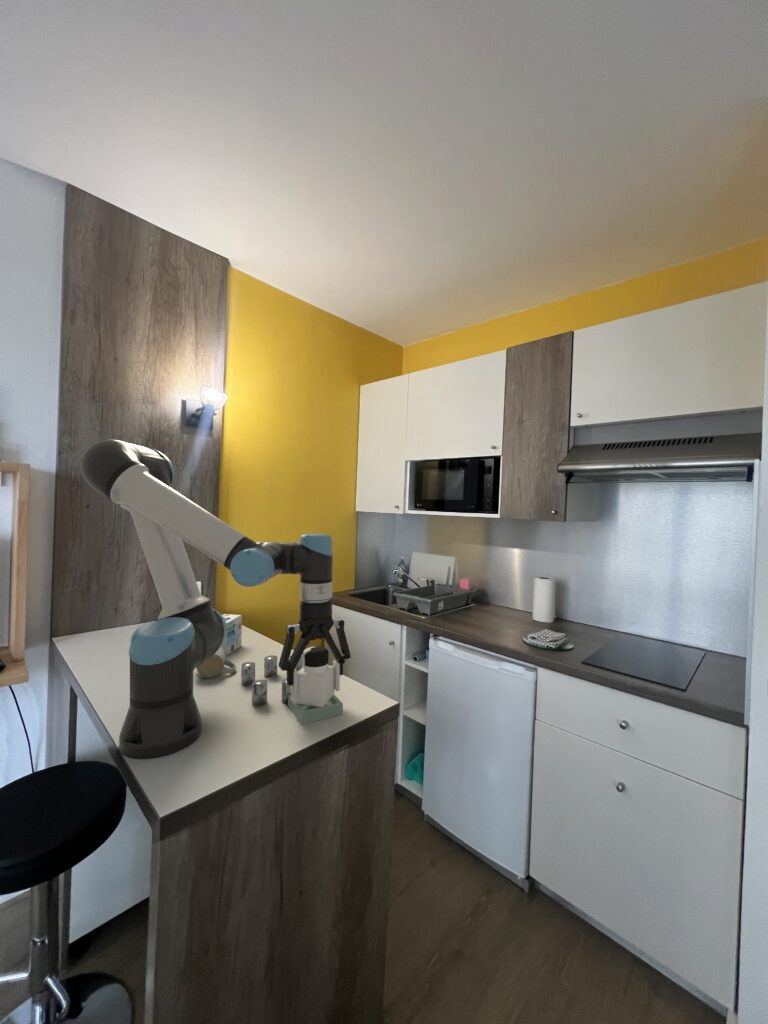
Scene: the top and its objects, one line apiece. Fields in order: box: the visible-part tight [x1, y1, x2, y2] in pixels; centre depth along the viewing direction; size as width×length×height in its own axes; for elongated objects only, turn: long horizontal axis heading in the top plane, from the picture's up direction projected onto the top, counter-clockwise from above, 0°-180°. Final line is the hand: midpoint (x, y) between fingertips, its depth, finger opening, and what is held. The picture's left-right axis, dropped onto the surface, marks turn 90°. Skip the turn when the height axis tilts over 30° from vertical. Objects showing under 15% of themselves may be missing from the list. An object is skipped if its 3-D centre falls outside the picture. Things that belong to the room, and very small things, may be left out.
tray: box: [287, 694, 344, 726], centre depth 100 cm, size 10×10×3 cm
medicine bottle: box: [295, 646, 335, 707], centre depth 100 cm, size 7×7×12 cm
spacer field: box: [240, 655, 303, 707], centre depth 112 cm, size 17×22×5 cm
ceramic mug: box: [196, 647, 237, 679], centre depth 121 cm, size 11×8×8 cm
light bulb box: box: [221, 613, 243, 656], centre depth 141 cm, size 11×7×11 cm, turn 174°
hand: (315, 693), depth 100 cm, fingers closed on medicine bottle, 10 cm apart
